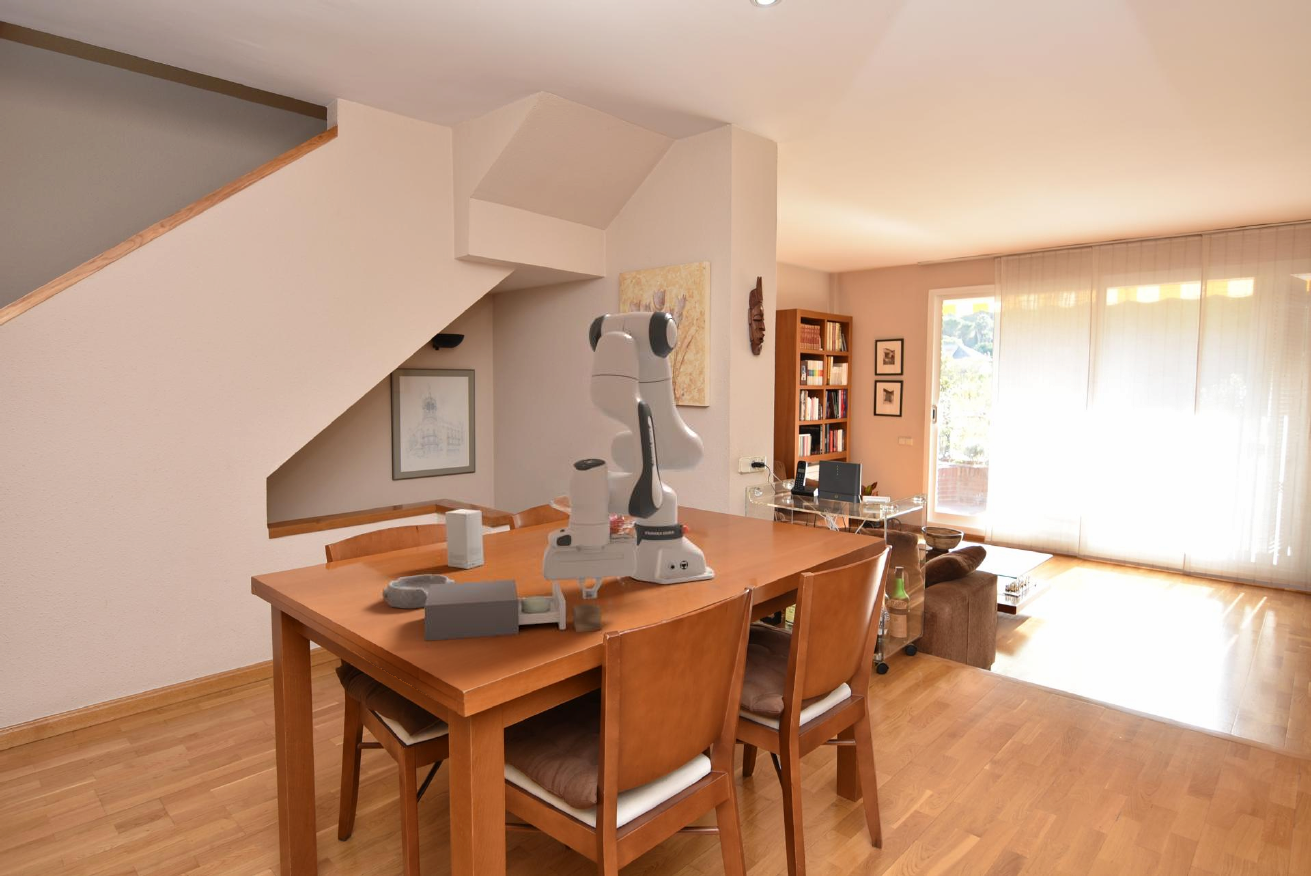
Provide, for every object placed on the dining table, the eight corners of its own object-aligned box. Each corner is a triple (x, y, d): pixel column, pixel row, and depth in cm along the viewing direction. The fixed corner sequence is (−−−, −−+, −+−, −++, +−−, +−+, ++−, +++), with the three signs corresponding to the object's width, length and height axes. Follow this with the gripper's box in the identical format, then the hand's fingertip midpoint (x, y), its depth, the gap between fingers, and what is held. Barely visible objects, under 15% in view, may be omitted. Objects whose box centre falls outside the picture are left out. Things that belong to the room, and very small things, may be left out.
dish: (459, 595, 172) (459, 575, 172) (429, 612, 159) (428, 590, 159) (406, 591, 176) (405, 571, 175) (371, 608, 162) (371, 586, 162)
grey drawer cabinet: (515, 610, 160) (514, 579, 159) (518, 633, 144) (518, 599, 144) (431, 616, 156) (430, 584, 155) (425, 640, 140) (424, 605, 140)
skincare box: (484, 565, 202) (483, 510, 201) (466, 570, 197) (465, 513, 196) (463, 561, 207) (462, 508, 206) (445, 566, 201) (444, 511, 200)
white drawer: (559, 607, 162) (559, 581, 162) (567, 628, 147) (567, 601, 146) (476, 612, 158) (475, 586, 157) (475, 635, 143) (474, 607, 142)
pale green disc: (551, 604, 156) (551, 595, 156) (548, 613, 150) (548, 604, 150) (523, 605, 156) (523, 596, 156) (519, 614, 150) (519, 605, 150)
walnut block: (597, 622, 152) (597, 604, 151) (600, 630, 147) (600, 610, 146) (573, 624, 150) (573, 605, 150) (576, 631, 146) (576, 612, 145)
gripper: (633, 530, 160) (633, 591, 161) (541, 533, 155) (541, 596, 156) (639, 535, 154) (639, 598, 155) (543, 539, 149) (544, 604, 150)
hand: (589, 597), depth 155 cm, fingers closed
